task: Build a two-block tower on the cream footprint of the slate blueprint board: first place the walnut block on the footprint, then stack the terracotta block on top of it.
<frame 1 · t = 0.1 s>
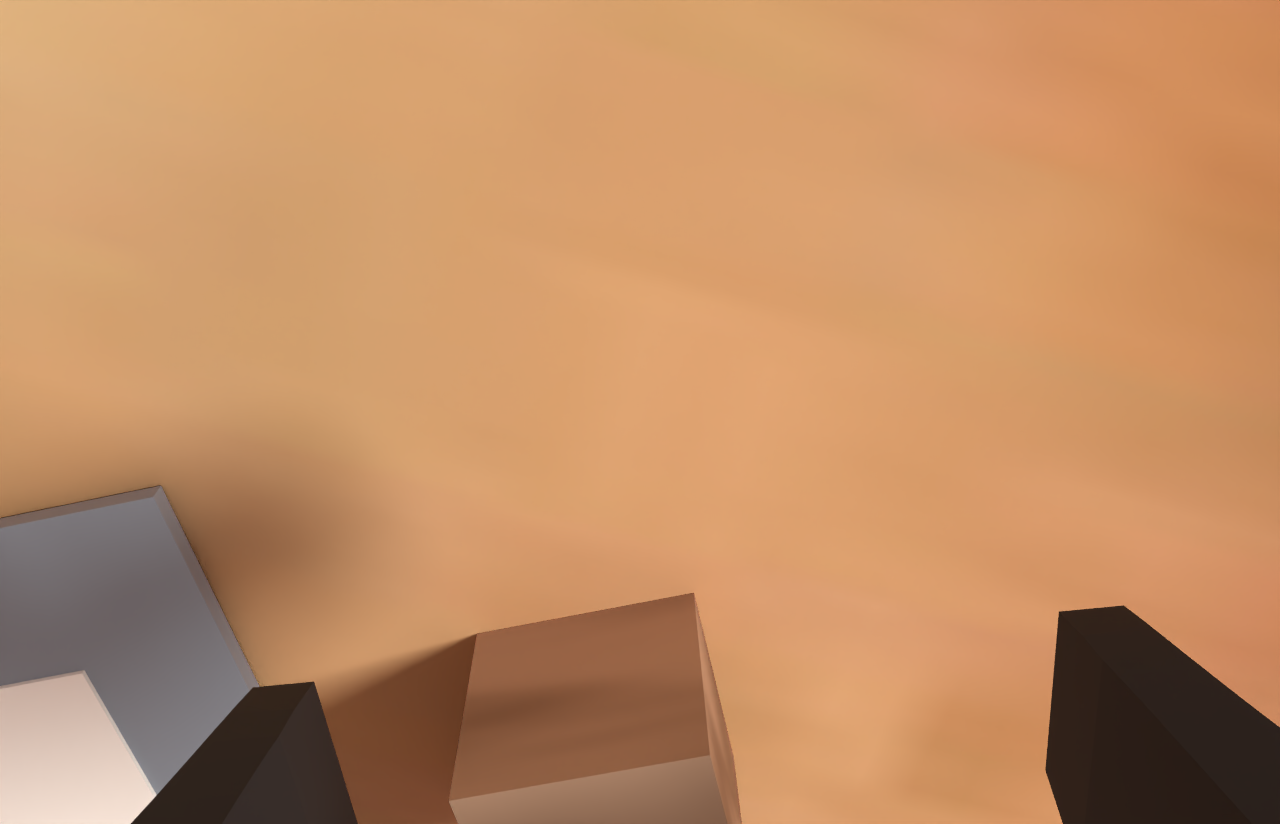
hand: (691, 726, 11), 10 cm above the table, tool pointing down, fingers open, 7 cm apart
walnut block: (609, 694, 24), on the table
blueprint board: (66, 778, 25), on the table
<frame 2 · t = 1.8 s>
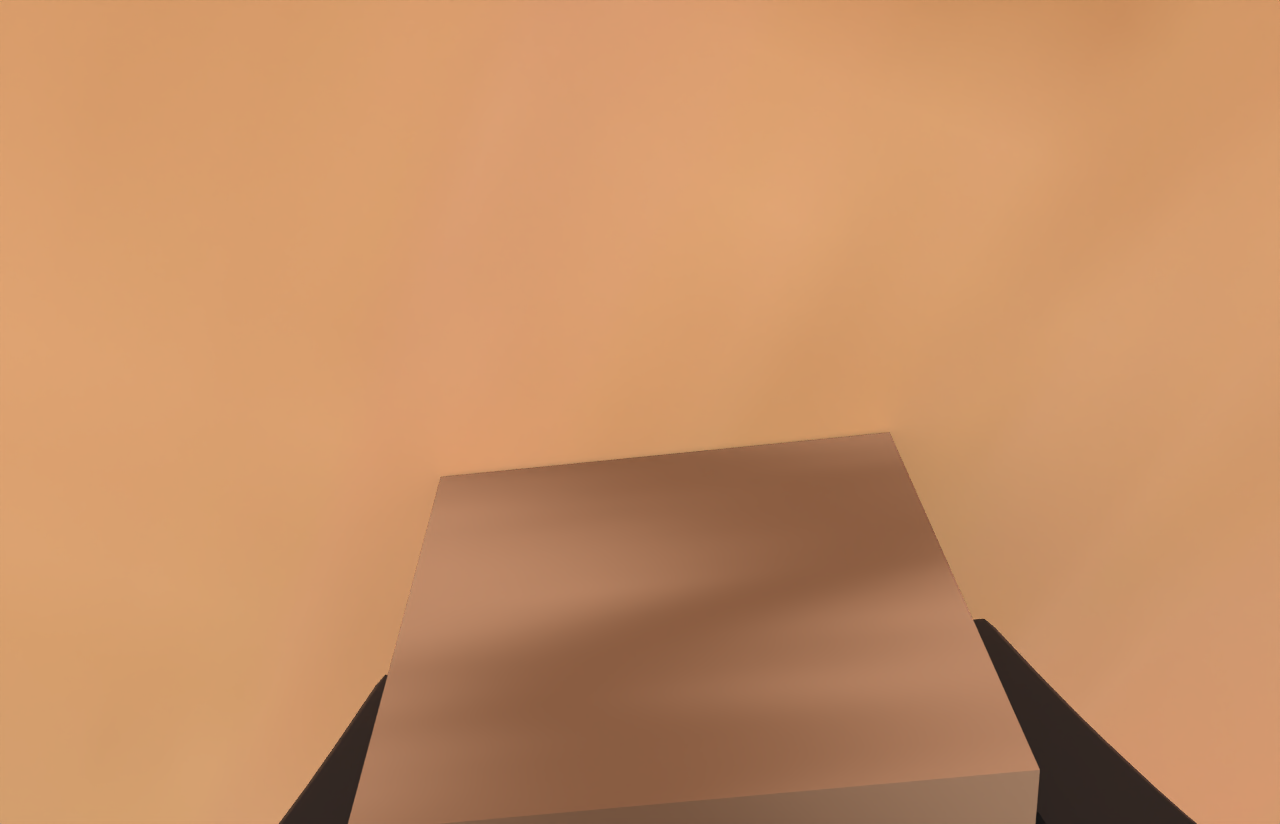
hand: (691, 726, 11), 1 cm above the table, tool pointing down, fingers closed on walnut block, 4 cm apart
walnut block: (683, 633, 12), on the table, touching gripper
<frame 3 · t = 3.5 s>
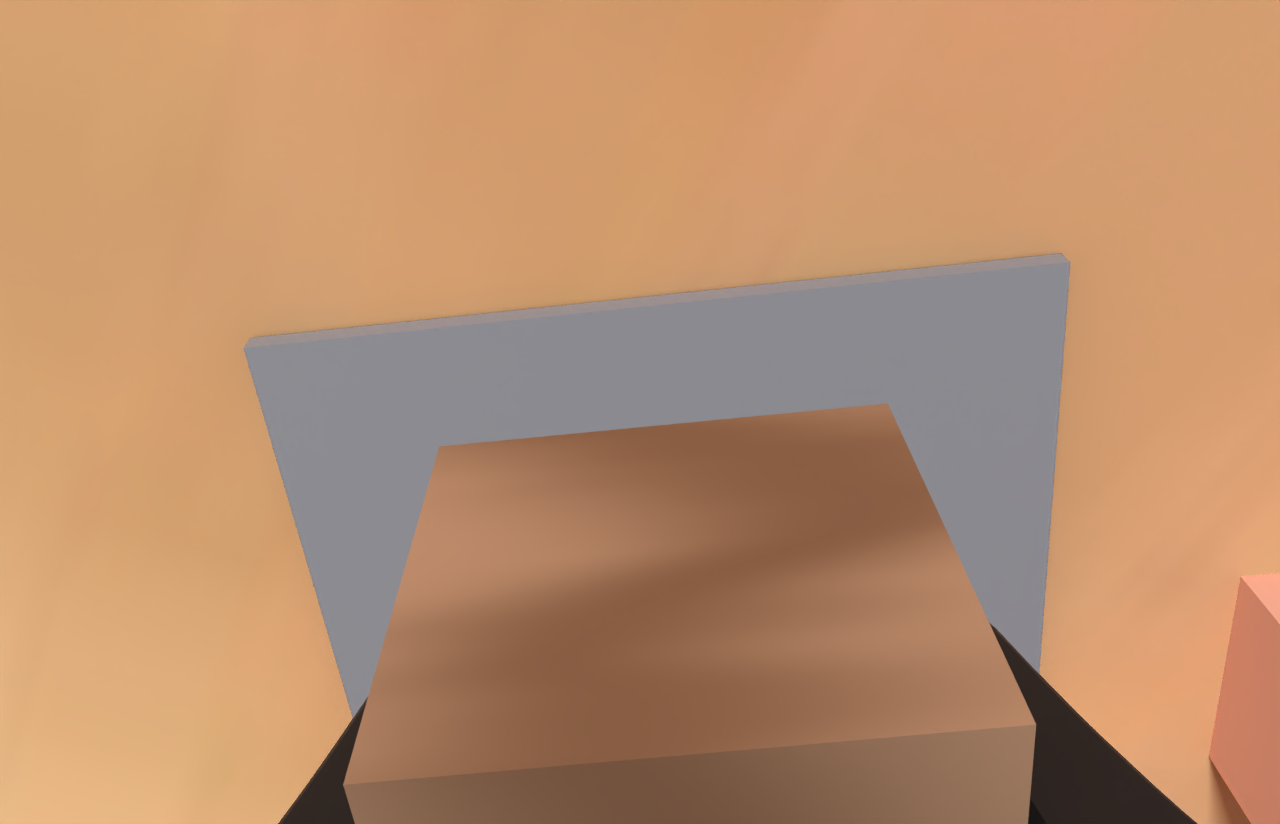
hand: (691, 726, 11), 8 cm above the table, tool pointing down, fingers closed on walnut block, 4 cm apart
walnut block: (680, 605, 12), point 7 cm above the table, touching gripper
blueprint board: (678, 553, 20), on the table
when the fingers open (3 cm above the table, at t = 5.3 s): walnut block stays where it is, resting on blueprint board.
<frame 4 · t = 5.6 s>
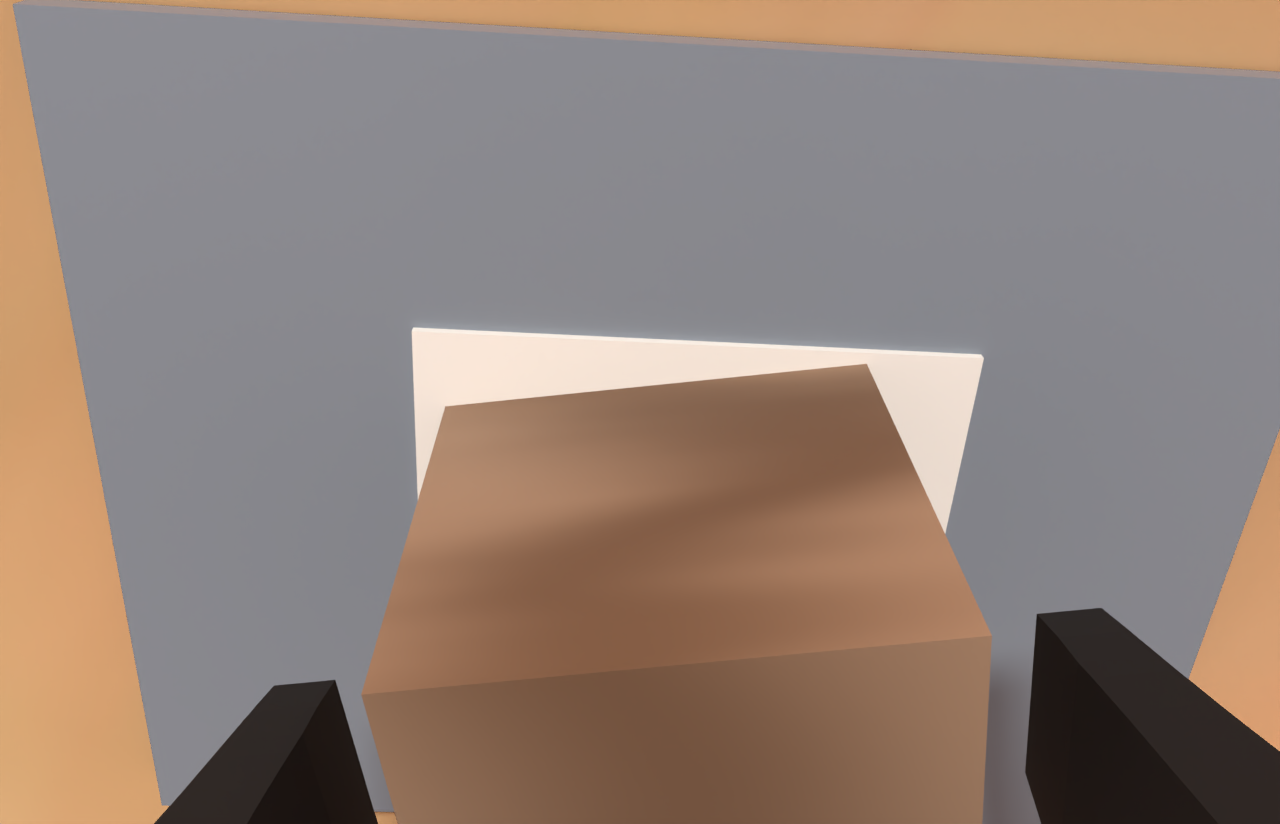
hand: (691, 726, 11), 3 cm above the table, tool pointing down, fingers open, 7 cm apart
walnut block: (673, 558, 13), resting on blueprint board
blueprint board: (683, 484, 13), on the table
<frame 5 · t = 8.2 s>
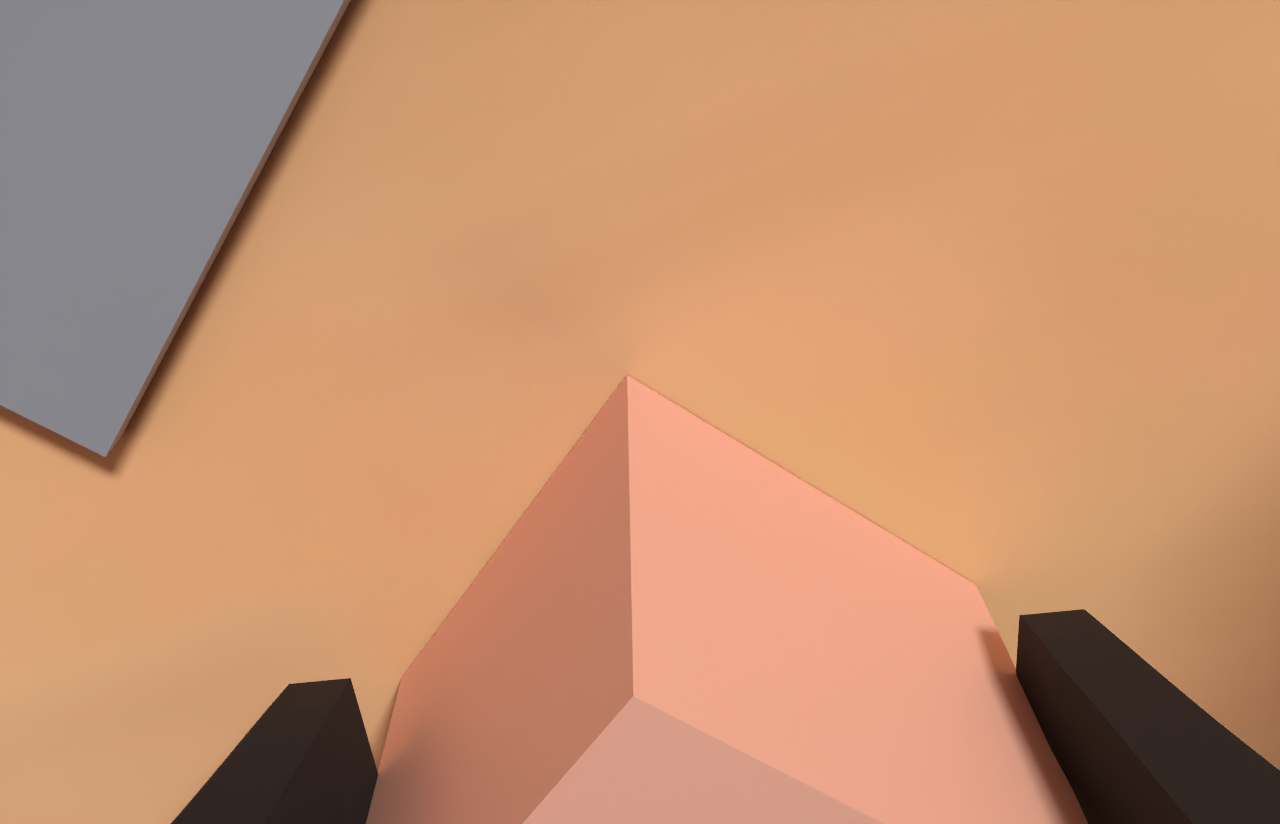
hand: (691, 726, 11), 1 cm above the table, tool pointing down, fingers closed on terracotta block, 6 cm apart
terracotta block: (683, 633, 12), on the table, touching gripper
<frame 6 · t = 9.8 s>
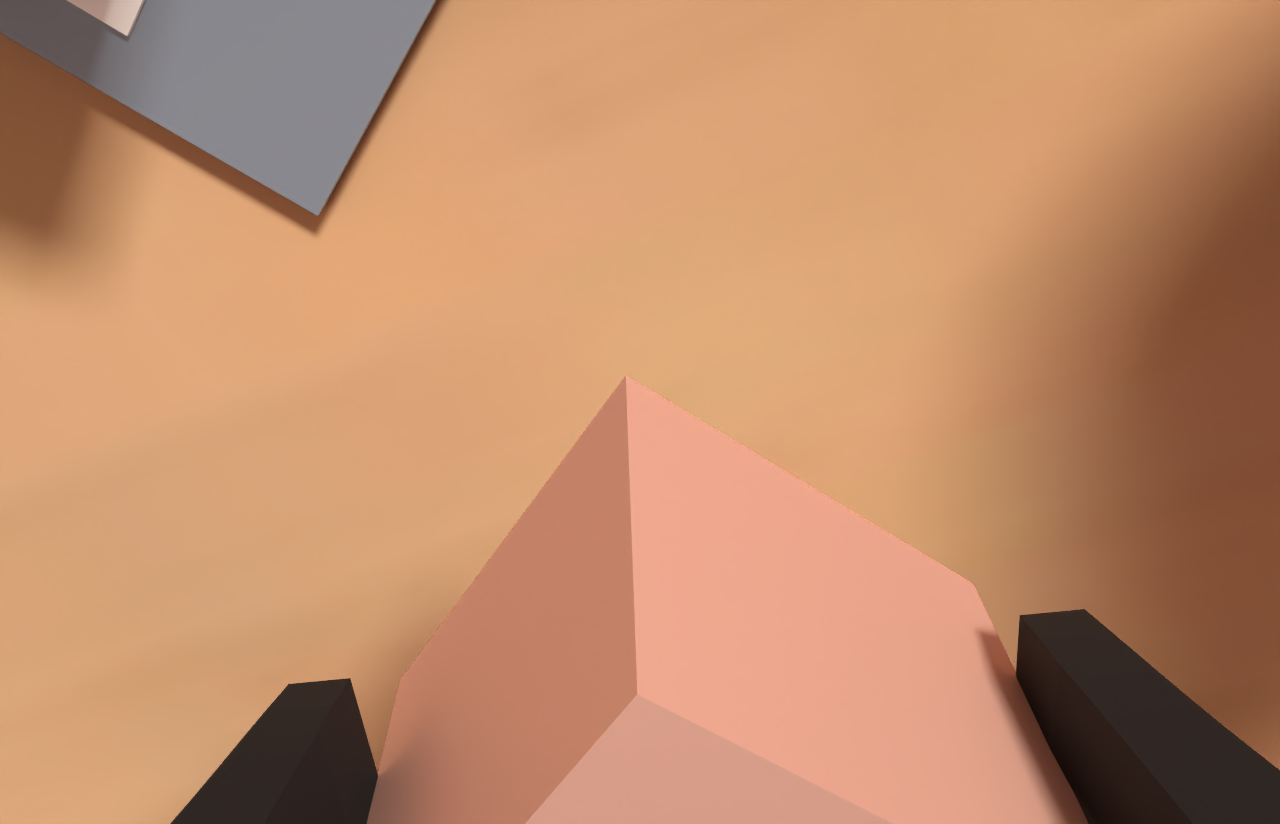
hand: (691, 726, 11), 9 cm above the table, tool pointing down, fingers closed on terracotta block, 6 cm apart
terracotta block: (681, 632, 12), point 8 cm above the table, touching gripper
when the fingers open (7 cm above the table, at t = 11.6 s): terracotta block stays where it is, resting on walnut block.
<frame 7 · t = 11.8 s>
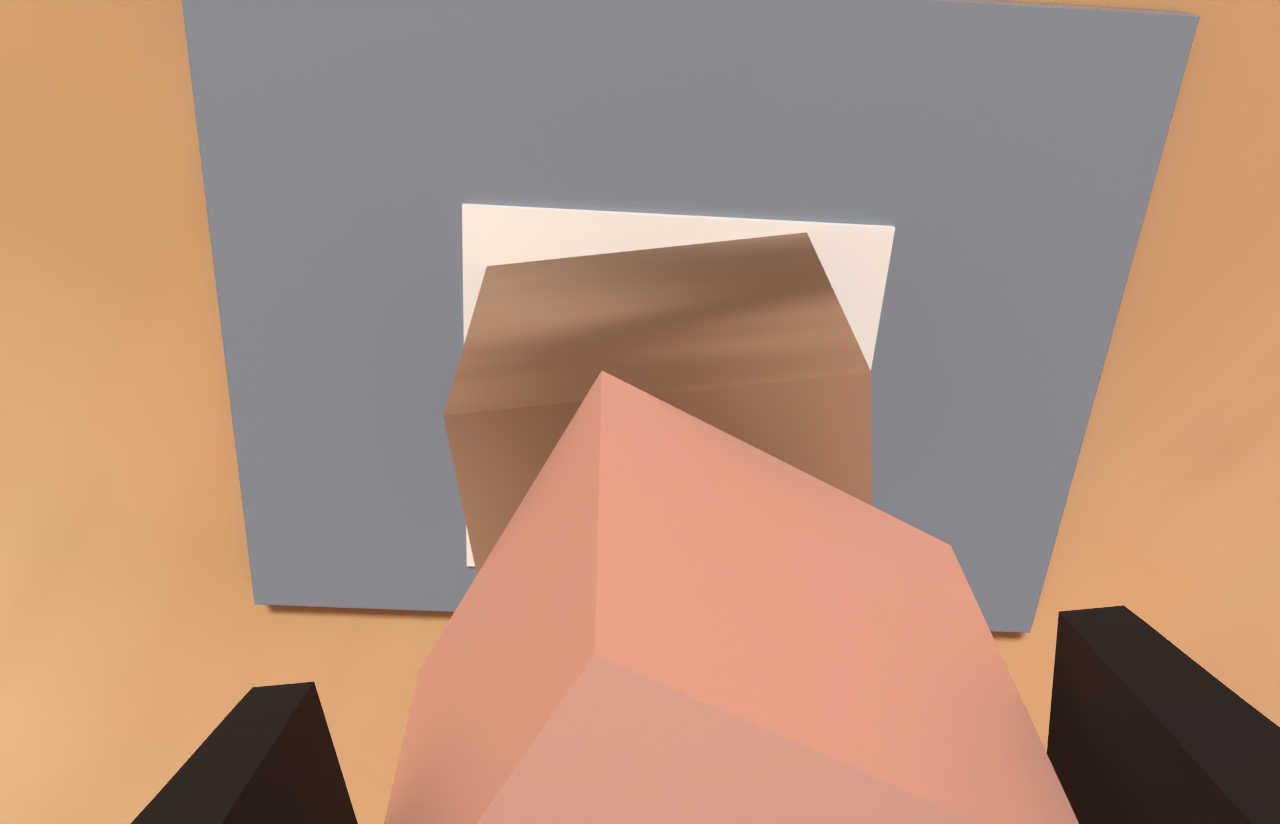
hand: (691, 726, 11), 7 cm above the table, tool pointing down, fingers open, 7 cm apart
walnut block: (661, 392, 17), resting on blueprint board, touching terracotta block
terracotta block: (678, 608, 13), point 5 cm above the table, touching walnut block
blueprint board: (668, 335, 17), on the table
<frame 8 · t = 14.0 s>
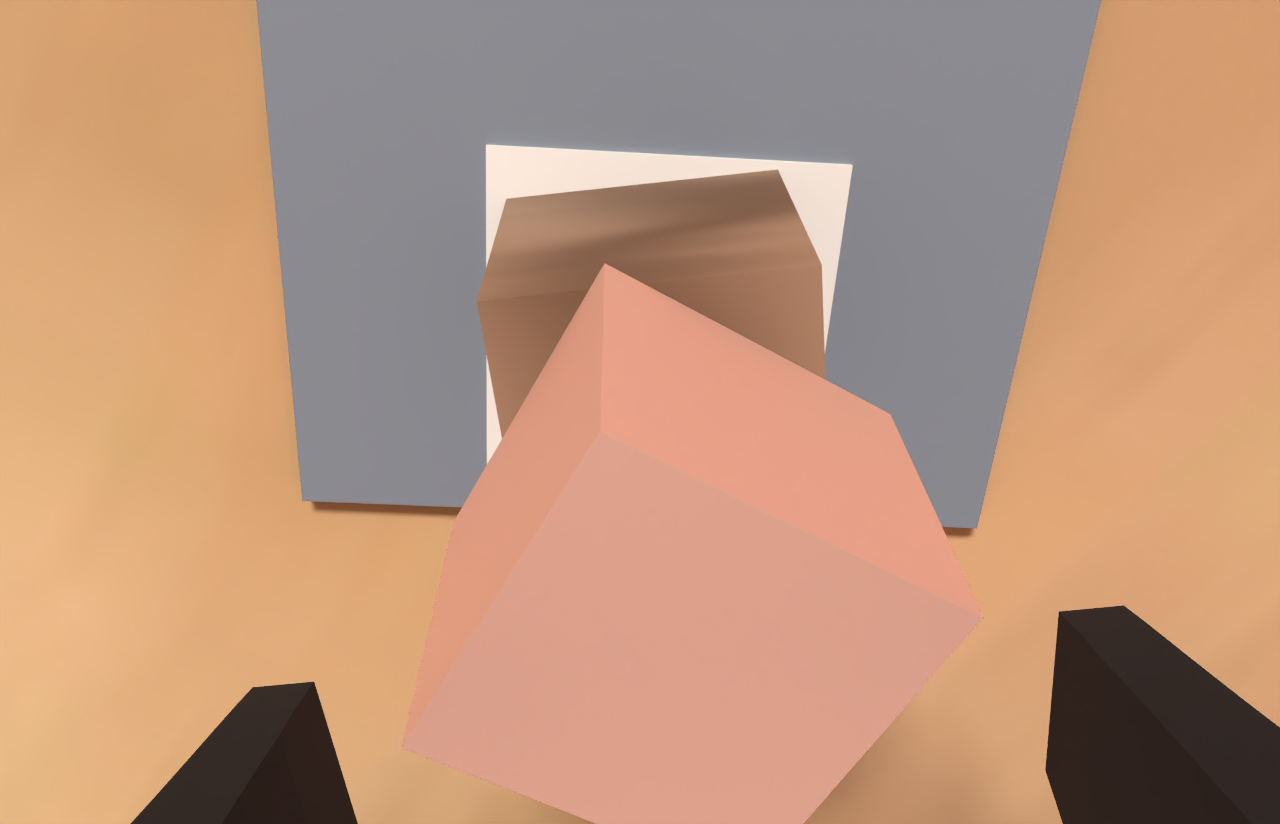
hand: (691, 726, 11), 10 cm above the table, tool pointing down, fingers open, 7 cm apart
walnut block: (654, 309, 20), resting on blueprint board, touching terracotta block
terracotta block: (667, 468, 16), point 5 cm above the table, touching walnut block
blueprint board: (661, 261, 20), on the table
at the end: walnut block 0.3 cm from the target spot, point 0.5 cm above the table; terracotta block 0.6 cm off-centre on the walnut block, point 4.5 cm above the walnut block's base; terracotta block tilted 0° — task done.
